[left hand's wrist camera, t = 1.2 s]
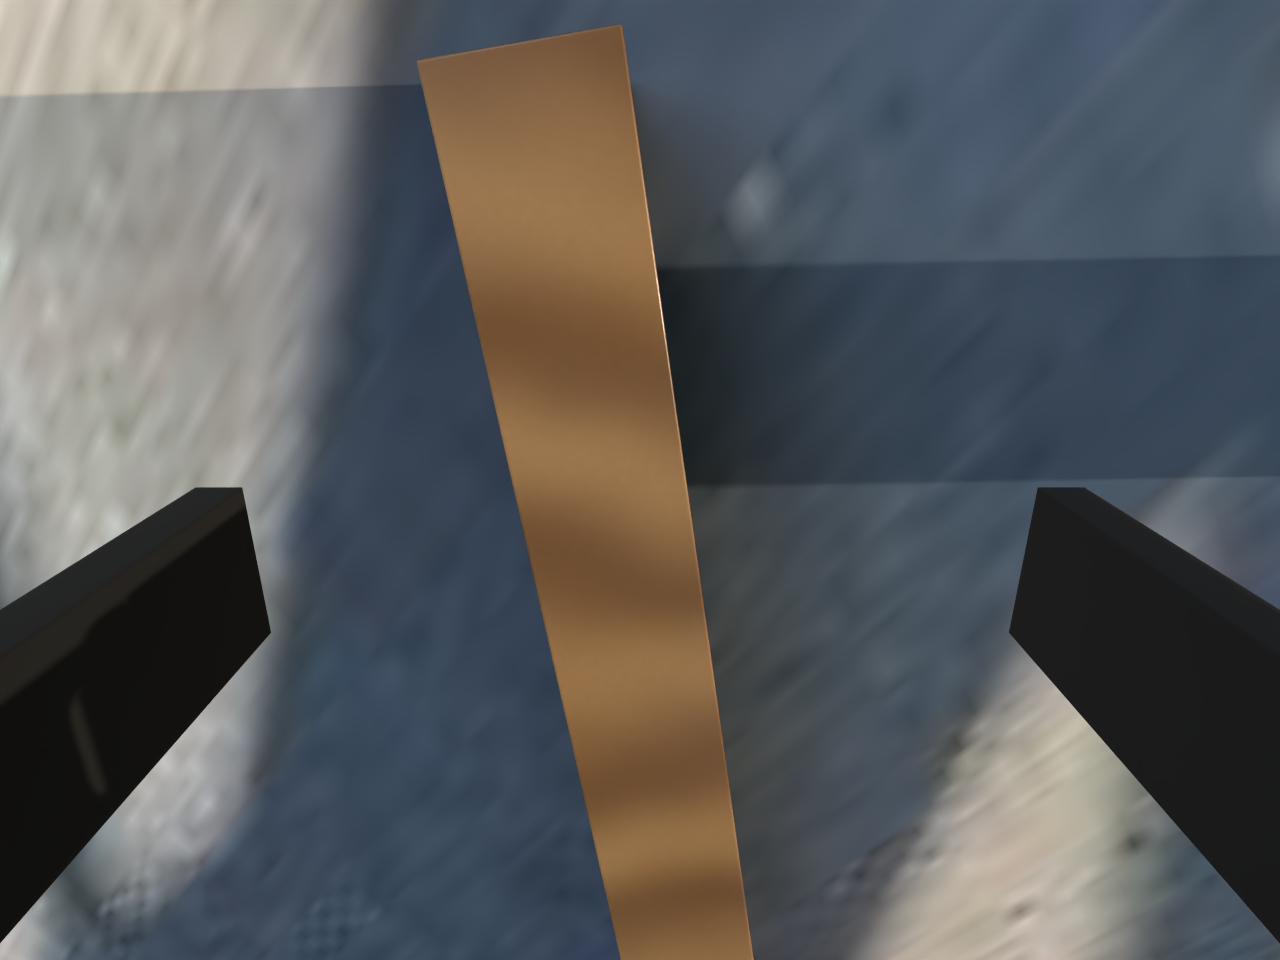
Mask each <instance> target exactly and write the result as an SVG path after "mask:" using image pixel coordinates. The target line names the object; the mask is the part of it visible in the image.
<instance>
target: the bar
mask: <svg viewBox="0 0 1280 960" xmlns="http://www.w3.org/2000/svg"><path fill="white" fill-rule="evenodd" d="M417 66H418V70H419V75H420V79H421V83H422V88H423V92H424V97H425V101H426V105H427V110H428V114H429V119H430V123H431V127H432V132H433V136H434V141H435V145H436V149H437V154H438V158H439V163H440V167H441V171H442V176H443V180H444V185H445V189H446V193H447V198H448V202H449V207H450V211H451V215H452V220H453V224H454V229H455V233H456V237H457V242H458V246H459V251H460V255H461V259H462V264H463V268H464V273H465V277H466V281H467V286H468V290H469V295H470V299H471V303H472V308H473V312H474V316H475V321H476V325H477V330H478V334H479V338H480V343H481V347H482V352H483V356H484V360H485V365H486V369H487V374H488V378H489V382H490V387H491V391H492V396H493V400H494V404H495V409H496V413H497V418H498V422H499V426H500V431H501V435H502V440H503V444H504V448H505V453H506V457H507V462H508V466H509V470H510V475H511V479H512V484H513V488H514V492H515V497H516V501H517V506H518V510H519V514H520V519H521V523H522V528H523V532H524V536H525V541H526V545H527V549H528V554H529V558H530V563H531V567H532V571H533V576H534V580H535V585H536V589H537V593H538V598H539V602H540V607H541V611H542V615H543V620H544V624H545V629H546V633H547V637H548V642H549V646H550V651H551V655H552V659H553V664H554V668H555V673H556V677H557V681H558V686H559V690H560V695H561V699H562V703H563V708H564V712H565V717H566V721H567V725H568V730H569V734H570V739H571V743H572V747H573V752H574V756H575V761H576V765H577V769H578V774H579V778H580V783H581V787H582V791H583V796H584V800H585V804H586V809H587V813H588V818H589V822H590V826H591V831H592V835H593V840H594V844H595V848H596V853H597V857H598V862H599V866H600V870H601V875H602V879H603V884H604V888H605V892H606V897H607V901H608V906H609V910H610V914H611V919H612V923H613V928H614V932H615V936H616V941H617V945H618V950H619V954H620V958H621V960H754V959H753V952H752V945H751V938H750V931H749V924H748V917H747V909H746V902H745V895H744V888H743V881H742V874H741V867H740V860H739V853H738V845H737V838H736V831H735V824H734V817H733V810H732V803H731V796H730V788H729V781H728V774H727V767H726V760H725V753H724V746H723V739H722V732H721V724H720V717H719V710H718V703H717V696H716V689H715V682H714V675H713V668H712V660H711V653H710V646H709V639H708V632H707V625H706V618H705V611H704V604H703V596H702V589H701V582H700V575H699V568H698V561H697V554H696V547H695V540H694V532H693V525H692V518H691V511H690V504H689V497H688V490H687V483H686V475H685V468H684V461H683V454H682V447H681V440H680V433H679V426H678V419H677V411H676V404H675V397H674V390H673V383H672V376H671V369H670V362H669V355H668V347H667V340H666V333H665V326H664V319H663V312H662V305H661V298H660V291H659V283H658V276H657V269H656V262H655V255H654V248H653V241H652V234H651V227H650V219H649V212H648V205H647V198H646V191H645V184H644V177H643V170H642V162H641V155H640V148H639V141H638V134H637V127H636V120H635V113H634V106H633V98H632V91H631V84H630V77H629V70H628V63H627V56H626V49H625V42H624V34H623V27H622V25H620V24H617V25H612V26H606V27H600V28H595V29H589V30H583V31H578V32H572V33H566V34H561V35H555V36H550V37H544V38H538V39H533V40H527V41H521V42H516V43H510V44H504V45H499V46H493V47H488V48H482V49H476V50H471V51H465V52H459V53H454V54H448V55H442V56H437V57H431V58H425V59H420V60H418V61H417Z"/></svg>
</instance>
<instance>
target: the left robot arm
mask: <svg viewBox="0 0 1280 960" xmlns="http://www.w3.org/2000/svg"><path fill="white" fill-rule="evenodd" d="M270 633H271V630H270V625H269V620H268V615H267V610H266V605H265V600H264V595H263V590H262V585H261V580H260V575H259V570H258V565H257V560H256V555H255V550H254V545H253V540H252V535H251V530H250V525H249V520H248V515H247V509H246V504H245V499H244V494H243V489H242V488H194V489H193V490H191V491H189V492H188V493H186V494H185V495H183V496H181V497H180V498H178V499H177V500H175V501H173V502H172V503H170V504H169V505H167V506H165V507H164V508H162V509H161V510H159V511H157V512H156V513H154V514H153V515H151V516H150V517H148V518H146V519H145V520H143V521H142V522H140V523H138V524H137V525H135V526H134V527H132V528H130V529H129V530H127V531H126V532H124V533H122V534H121V535H119V536H118V537H116V538H114V539H113V540H111V541H110V542H108V543H106V544H105V545H103V546H102V547H100V548H98V549H97V550H95V551H94V552H92V553H90V554H89V555H87V556H86V557H84V558H82V559H81V560H79V561H78V562H76V563H74V564H73V565H71V566H70V567H68V568H66V569H65V570H63V571H62V572H60V573H59V574H57V575H55V576H54V577H52V578H51V579H49V580H47V581H46V582H44V583H43V584H41V585H39V586H38V587H36V588H35V589H33V590H31V591H30V592H28V593H27V594H25V595H23V596H22V597H20V598H19V599H17V600H15V601H14V602H12V603H11V604H9V605H7V606H6V607H4V608H3V609H1V610H0V943H1V942H2V940H3V939H4V938H5V937H6V936H7V935H8V934H9V932H10V931H11V930H12V929H13V928H14V927H15V926H16V924H17V923H18V922H19V921H20V920H21V919H22V918H23V916H24V915H25V914H26V913H27V912H28V911H29V910H30V908H31V907H32V906H33V905H34V904H35V903H36V901H37V900H38V899H39V898H40V897H41V896H42V895H43V893H44V892H45V891H46V890H47V889H48V888H49V887H50V885H51V884H52V883H53V882H54V881H55V880H56V879H57V877H58V876H59V875H60V874H61V873H62V872H63V871H64V869H65V868H66V867H67V866H68V865H69V864H70V862H71V861H72V860H73V859H74V858H75V857H76V856H77V854H78V853H79V852H80V851H81V850H82V849H83V848H84V846H85V845H86V844H87V843H88V842H89V841H90V840H91V838H92V837H93V836H94V835H95V834H96V833H97V832H98V830H99V829H100V828H101V827H102V826H103V825H104V823H105V822H106V821H107V820H108V819H109V818H110V817H111V815H112V814H113V813H114V812H115V811H116V810H117V809H118V807H119V806H120V805H121V804H122V803H123V802H124V801H125V799H126V798H127V797H128V796H129V795H130V794H131V793H132V791H133V790H134V789H135V788H136V787H137V786H138V784H139V783H140V782H141V781H142V780H143V779H144V778H145V776H146V775H147V774H148V773H149V772H150V771H151V770H152V768H153V767H154V766H155V765H156V764H157V763H158V762H159V760H160V759H161V758H162V757H163V756H164V755H165V754H166V752H167V751H168V750H169V749H170V748H171V747H172V745H173V744H174V743H175V742H176V741H177V740H178V739H179V737H180V736H181V735H182V734H183V733H184V732H185V731H186V729H187V728H188V727H189V726H190V725H191V724H192V723H193V721H194V720H195V719H196V718H197V717H198V716H199V715H200V713H201V712H202V711H203V710H204V709H205V708H206V706H207V705H208V704H209V703H210V702H211V701H212V700H213V698H214V697H215V696H216V695H217V694H218V693H219V692H220V690H221V689H222V688H223V687H224V686H225V685H226V684H227V682H228V681H229V680H230V679H231V678H232V677H233V676H234V674H235V673H236V672H237V671H238V670H239V669H240V667H241V666H242V665H243V664H244V663H245V662H246V661H247V659H248V658H249V657H250V656H251V655H252V654H253V653H254V651H255V650H256V649H257V648H258V647H259V646H260V645H261V643H262V642H263V641H264V640H265V639H266V638H267V637H268V635H269V634H270ZM1009 633H1010V634H1011V635H1012V637H1013V638H1014V639H1015V640H1016V641H1017V642H1018V643H1019V645H1020V646H1021V647H1022V648H1023V649H1024V650H1025V651H1026V653H1027V654H1028V655H1029V656H1030V657H1031V658H1032V659H1033V661H1034V662H1035V663H1036V664H1037V665H1038V666H1039V667H1040V669H1041V670H1042V671H1043V672H1044V673H1045V674H1046V676H1047V677H1048V678H1049V679H1050V680H1051V681H1052V682H1053V684H1054V685H1055V686H1056V687H1057V688H1058V689H1059V690H1060V692H1061V693H1062V694H1063V695H1064V696H1065V697H1066V698H1067V700H1068V701H1069V702H1070V703H1071V704H1072V705H1073V706H1074V708H1075V709H1076V710H1077V711H1078V712H1079V713H1080V715H1081V716H1082V717H1083V718H1084V719H1085V720H1086V721H1087V723H1088V724H1089V725H1090V726H1091V727H1092V728H1093V729H1094V731H1095V732H1096V733H1097V734H1098V735H1099V736H1100V737H1101V739H1102V740H1103V741H1104V742H1105V743H1106V744H1107V745H1108V747H1109V748H1110V749H1111V750H1112V751H1113V752H1114V754H1115V755H1116V756H1117V757H1118V758H1119V759H1120V760H1121V762H1122V763H1123V764H1124V765H1125V766H1126V767H1127V768H1128V770H1129V771H1130V772H1131V773H1132V774H1133V775H1134V776H1135V778H1136V779H1137V780H1138V781H1139V782H1140V783H1141V784H1142V786H1143V787H1144V788H1145V789H1146V790H1147V791H1148V793H1149V794H1150V795H1151V796H1152V797H1153V798H1154V799H1155V801H1156V802H1157V803H1158V804H1159V805H1160V806H1161V807H1162V809H1163V810H1164V811H1165V812H1166V813H1167V814H1168V815H1169V817H1170V818H1171V819H1172V820H1173V821H1174V822H1175V823H1176V825H1177V826H1178V827H1179V828H1180V829H1181V830H1182V832H1183V833H1184V834H1185V835H1186V836H1187V837H1188V838H1189V840H1190V841H1191V842H1192V843H1193V844H1194V845H1195V846H1196V848H1197V849H1198V850H1199V851H1200V852H1201V853H1202V854H1203V856H1204V857H1205V858H1206V859H1207V860H1208V861H1209V862H1210V864H1211V865H1212V866H1213V867H1214V868H1215V869H1216V871H1217V872H1218V873H1219V874H1220V875H1221V876H1222V877H1223V879H1224V880H1225V881H1226V882H1227V883H1228V884H1229V885H1230V887H1231V888H1232V889H1233V890H1234V891H1235V892H1236V893H1237V895H1238V896H1239V897H1240V898H1241V899H1242V900H1243V901H1244V903H1245V904H1246V905H1247V906H1248V907H1249V908H1250V910H1251V911H1252V912H1253V913H1254V914H1255V915H1256V916H1257V918H1258V919H1259V920H1260V921H1261V922H1262V923H1263V924H1264V926H1265V927H1266V928H1267V929H1268V930H1269V931H1270V932H1271V934H1272V935H1273V936H1274V937H1275V938H1276V939H1277V940H1278V942H1279V943H1280V610H1279V609H1277V608H1276V607H1274V606H1273V605H1271V604H1269V603H1268V602H1266V601H1265V600H1263V599H1261V598H1260V597H1258V596H1257V595H1255V594H1253V593H1252V592H1250V591H1249V590H1247V589H1245V588H1244V587H1242V586H1241V585H1239V584H1237V583H1236V582H1234V581H1233V580H1231V579H1229V578H1228V577H1226V576H1225V575H1223V574H1221V573H1220V572H1218V571H1217V570H1215V569H1214V568H1212V567H1210V566H1209V565H1207V564H1206V563H1204V562H1202V561H1201V560H1199V559H1198V558H1196V557H1194V556H1193V555H1191V554H1190V553H1188V552H1186V551H1185V550H1183V549H1182V548H1180V547H1178V546H1177V545H1175V544H1174V543H1172V542H1170V541H1169V540H1167V539H1166V538H1164V537H1162V536H1161V535H1159V534H1158V533H1156V532H1154V531H1153V530H1151V529H1150V528H1148V527H1146V526H1145V525H1143V524H1142V523H1140V522H1138V521H1137V520H1135V519H1134V518H1132V517H1130V516H1129V515H1127V514H1126V513H1124V512H1123V511H1121V510H1119V509H1118V508H1116V507H1115V506H1113V505H1111V504H1110V503H1108V502H1107V501H1105V500H1103V499H1102V498H1100V497H1099V496H1097V495H1095V494H1094V493H1092V492H1091V491H1089V490H1087V489H1086V488H1038V489H1037V494H1036V499H1035V504H1034V509H1033V514H1032V520H1031V525H1030V530H1029V535H1028V540H1027V545H1026V550H1025V555H1024V560H1023V565H1022V570H1021V575H1020V580H1019V585H1018V590H1017V595H1016V600H1015V605H1014V610H1013V615H1012V620H1011V625H1010V630H1009Z"/></svg>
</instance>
